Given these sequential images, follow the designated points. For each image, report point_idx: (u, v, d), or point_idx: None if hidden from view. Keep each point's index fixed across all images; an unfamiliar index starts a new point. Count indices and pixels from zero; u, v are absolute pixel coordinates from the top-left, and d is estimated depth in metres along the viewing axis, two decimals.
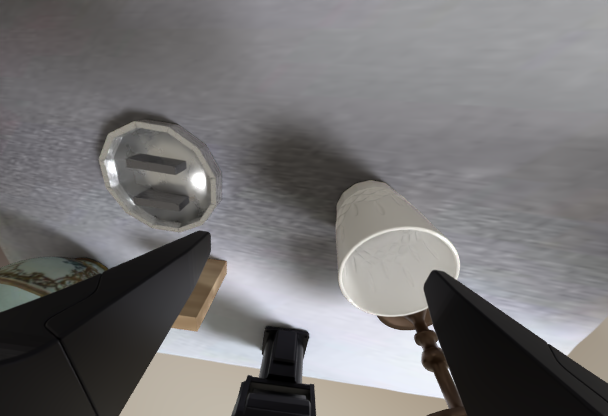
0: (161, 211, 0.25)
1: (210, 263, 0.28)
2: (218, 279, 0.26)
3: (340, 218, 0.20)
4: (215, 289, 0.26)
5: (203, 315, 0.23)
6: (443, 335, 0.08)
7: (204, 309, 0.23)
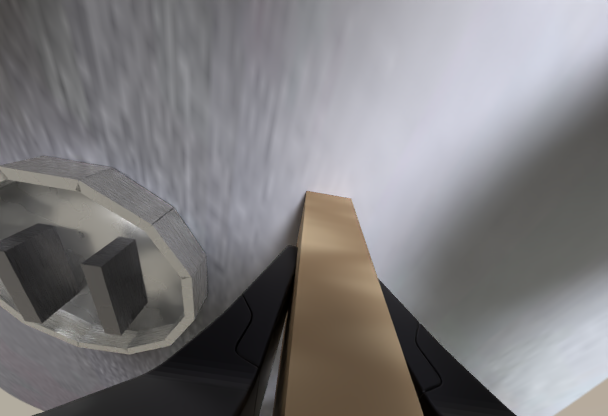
0: (175, 292, 0.13)
1: (299, 232, 0.10)
2: (316, 222, 0.08)
3: None
4: (338, 242, 0.07)
5: (371, 341, 0.04)
6: None
7: (342, 322, 0.04)
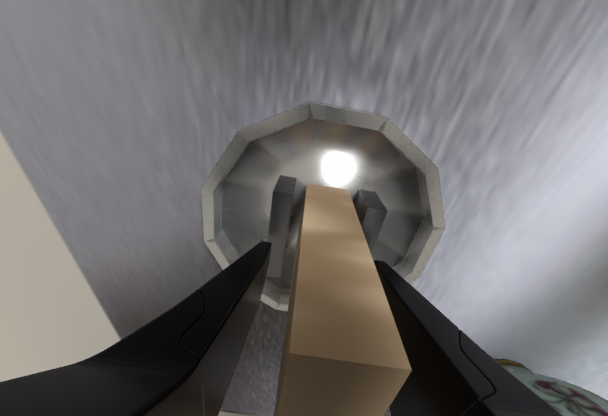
0: (387, 251, 0.12)
1: None
2: (316, 209, 0.08)
3: None
4: (336, 224, 0.08)
5: (363, 298, 0.05)
6: None
7: (338, 284, 0.05)
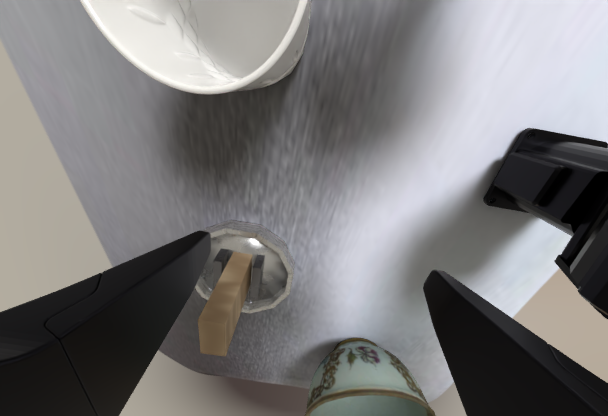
0: (277, 280, 0.25)
1: None
2: (229, 269, 0.21)
3: None
4: (233, 278, 0.21)
5: (224, 306, 0.18)
6: (443, 335, 0.08)
7: (219, 302, 0.18)
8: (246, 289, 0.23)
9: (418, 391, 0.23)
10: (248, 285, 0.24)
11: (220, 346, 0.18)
